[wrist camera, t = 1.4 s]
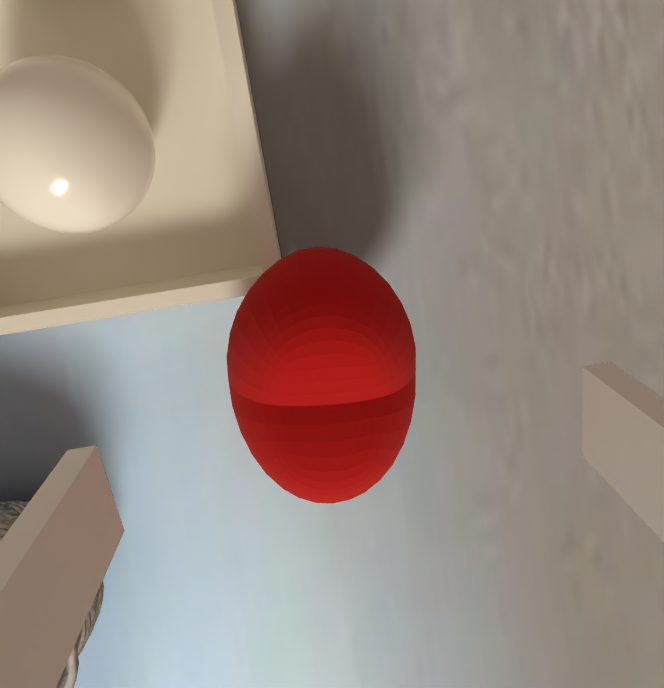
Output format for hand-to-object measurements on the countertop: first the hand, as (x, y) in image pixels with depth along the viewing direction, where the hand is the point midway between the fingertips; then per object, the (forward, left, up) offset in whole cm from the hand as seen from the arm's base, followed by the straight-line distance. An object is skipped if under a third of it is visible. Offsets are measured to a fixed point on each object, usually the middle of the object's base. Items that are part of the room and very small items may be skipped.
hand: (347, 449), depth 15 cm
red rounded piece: (0, 0, -13) cm, 13 cm away
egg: (-8, +9, -12) cm, 17 cm away
